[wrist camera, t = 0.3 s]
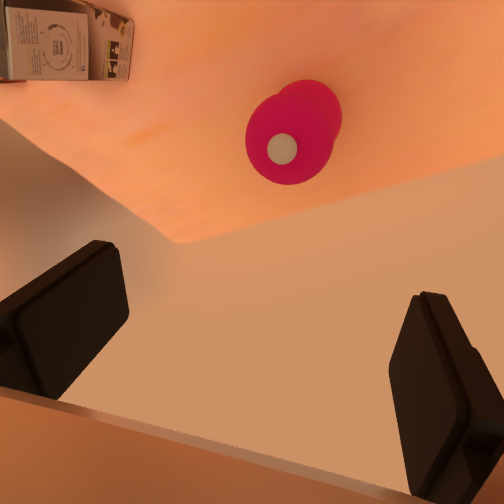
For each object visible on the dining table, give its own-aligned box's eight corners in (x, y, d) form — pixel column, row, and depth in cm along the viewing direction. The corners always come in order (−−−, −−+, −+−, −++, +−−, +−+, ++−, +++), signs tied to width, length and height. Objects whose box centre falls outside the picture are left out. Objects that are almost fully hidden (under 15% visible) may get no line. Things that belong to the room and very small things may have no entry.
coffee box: (135, 18, 35) (4, -21, 21) (129, 82, 38) (11, 84, 25) (59, -11, 36) (-118, -68, 22) (59, 55, 39) (-95, 42, 25)
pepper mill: (355, 103, 34) (374, 128, 17) (315, 162, 38) (298, 232, 21) (297, 65, 34) (256, 51, 17) (263, 128, 37) (200, 171, 20)
